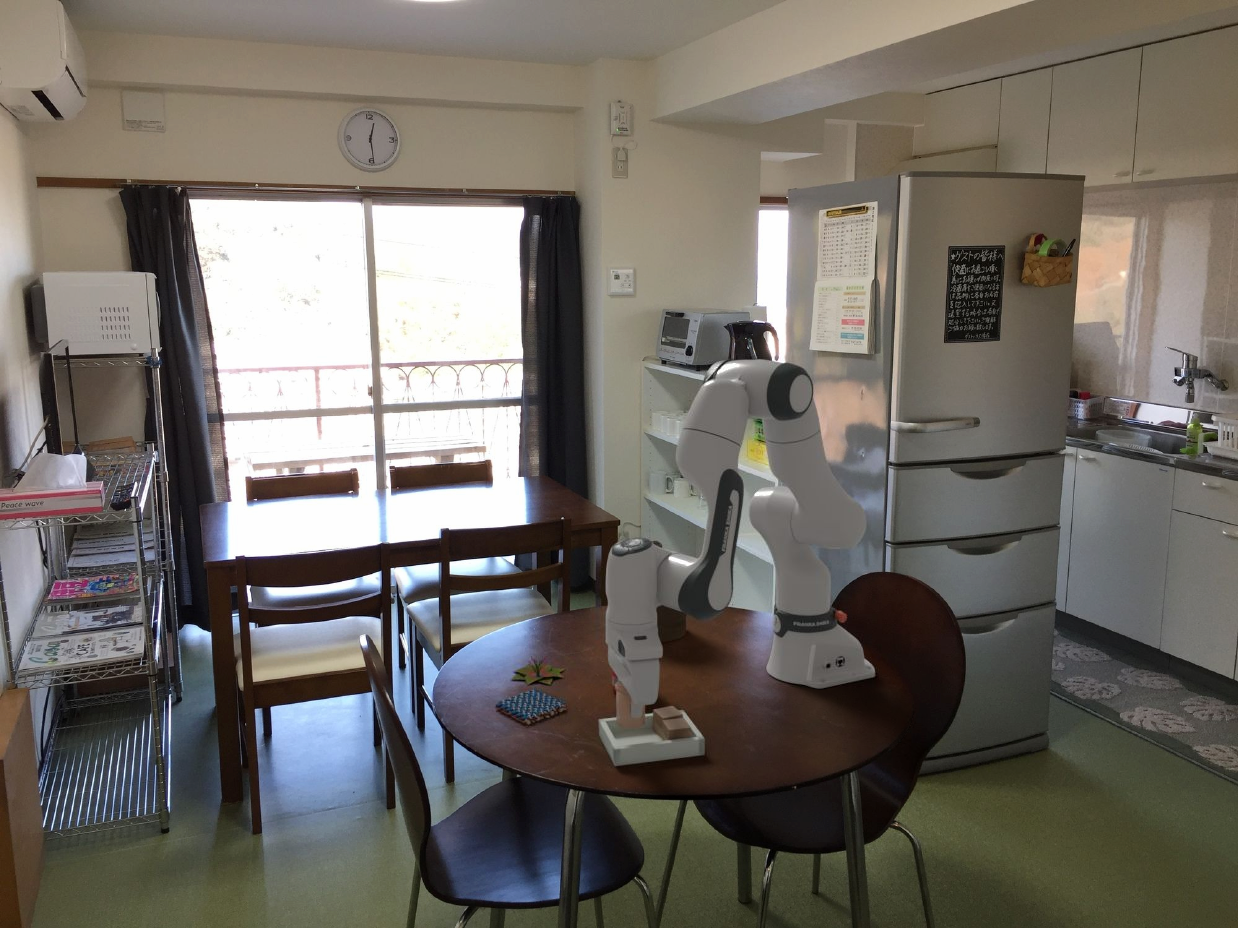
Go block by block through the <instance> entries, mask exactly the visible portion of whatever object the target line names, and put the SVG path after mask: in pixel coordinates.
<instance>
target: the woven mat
mask: <svg viewBox="0 0 1238 928" xmlns="http://www.w3.org/2000/svg"><path fill="white" fill-rule="evenodd" d="M494 707H495V709H496V710H497V711H498V712H502V713H503V714H506V715H507V716H509V717H512V718H513V719H516V720H517V721H519V722H521V723H523V724H525V725H530V724H532V723H535V722H536V721H537V722H539V721H540V720H543V719H545V718H546V719H548V718H551V716H554V715H555V714H558V712H559V713H562V712H564V711H566V710H567V707H568V704H566V703H565V702H563V700H558V698H557V697H556V698H555V697H553V696H552V695H548V694H547V693H546V692H545V693H544V692H542V690H538V689H537V688H534V689H530V690H528V691H526V692H521V693H519V694H517V695H515V696H511V697H508V698H505V699H502V700H499V701H498V702H497V703H496V704H495V705H494ZM544 717H545V718H544Z"/></svg>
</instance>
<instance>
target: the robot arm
mask: <svg viewBox="0 0 1238 928" xmlns="http://www.w3.org/2000/svg"><path fill="white" fill-rule="evenodd" d="M750 419H751V420H757V419H759V420H761V422H762V430H763V437H764V442H765V447H766V454H767V459H768V466H769V469H770V471H771V473H772V475H773V476H774V477H775V478H776V480H778V481H779V482H781V483H783V485H778V486H776V485H775V486H765V487H762V488H760V489H758V490H757V491H756V492H755V493H754V495H753V496H752V498H751V500H750V502H749V506H748V517H749V521H750V524H751V525H752V527H753V529H754V530H756V532H757V533H759V535H760V536H761V538H762V539H763V541H764V542H765V544H766V546H767V547H768V550H769V553H770V555H771V557H772V561H773V564H774V569H775V587H776V589H775V590H776V591H775V593H776V597H775V598H776V599H775V600H776V601H775V602H776V603H775V604H774V606H773V617H772V628H773V639H772V646H771V650H770V651H771V652H770V656H769V660H768V662H767V665H766V667H765V668H766V672H767V673H768V674H769V675H770V676H772V677H773V678H775V679H777V680H780V681H783V682H786V683H790V684H796V685H804V686H807V687H810V688H814V689H824V688H830V687H834V686H839V685H843V684H847V683H853V682H858V681H862V680H866V679H867V680H868V679H871V678H874V677H876V671H875V667H874V665H873V664H872V663H870V662H871V661H868V660H867V659H866V658H865V655H864V649H863V646H862V644H861V643H860V641H859V640H858V639H857V638H856V637H855V636H854V635H852V634H851V633H850V632H848V631H847V630H846V629H845V628H843V627H842V626H841V625H839V624H838V622H840V623H842V624H843V623H845V622H846V621H847V619H848V617H847V616H848V615H847V614H846V613H845V612H843V611H842V610H837V609H836V608H835V607H833V606H831V586H832V584H831V583H832V582H831V581H832V575H831V572H830V570H829V568H828V566H827V565H826V564H825V563H823V561H822V560H820V558H818V556H817V555H816V554H815V551H814V550H813V548H812V546H814V547H819V548H823V549H829V550H830V549H831V550H832V549H833V550H837V549H838V550H841V549H844V550H845V549H852V548H854V547H856V545H858V544H859V543H860V541H861V540H862V539H863V537H864V536H865V533H866V531H867V515H866V512H865V510H864V508H863V506H862V505H861V504H860V502H858V501H857V500H855V499H854V498H853V497H852V496H851V495H849V494H848V493H847V492H846V491H845V489H844V487H842V485H841V484H840V483H839V481H838V480H837V478H836V477H835V475H834V474H833V472H832V470H831V468H830V466H829V463H828V460H827V457H826V452H825V447H824V442H823V437H822V436H823V435H822V431H821V424H820V418H819V414H818V409H817V406H816V402H815V400H814V384H813V380H812V379H811V376H810V375H809V373H808V372H807V370H806V369H805V368H803V367H802V366H800V365H798V364H795V363H791V362H779V361H774V360H768V359H760V358H759V359H734V358H729V359H727V358H726V359H723V360H718V361H716V362H715V363H713V364H712V365H711V366H710V368H709V369H708V370H707V372H706V373H705V375H704V378H703V380H702V385H701V387H700V388H699V390H698V392H697V394H696V395H695V397H694V399H693V401H692V403H691V406H690V407H689V409H688V413H687V415H686V418H685V420H684V423H683V426H682V429H681V432H680V434H679V435H680V436H679V438H678V440H677V441H678V442H677V445H676V449H675V450H676V451H675V462H676V463H675V464H676V466H677V469H678V470H679V473H680V474H681V475H682V477H683V478H684V479H685V480H686V482H688V483H689V484H690V486H692V487H693V488H695V489H696V490H697V491H698V492H699V493H700V494H701V496H703V498H704V500H705V501H706V505H707V511H708V514H707V520H706V525H705V526H706V527H705V531H704V537H703V538H704V539H703V543H702V544H703V545H702V551H701V554H700V556H699V557H698V558H697V557H695V556H691V555H687V554H684V553H682V552H678V551H675V550H671V549H667V548H663V547H662V548H661V547H658V546H656V545H654V544H653V542H652V540H651V539H648V538H645V537H631V538H630V537H628V538H624V539H621V540H619V541H617V542H616V543H614V544H613V545H612V546H611V548H610V551H609V553H608V557H607V563H606V568H605V569H606V571H605V573H606V574H605V594H606V598H607V608H606V611H605V643H606V645H607V659H608V664H609V667H611V670H612V669H613V671H614V672H615V674H616V675H617V677H618V681H621V683H622V684H623V686H624V687H625V689H626V690H627V692H628V693H629V695H630V697H631V699H632V701H631V705H630V714H631V716H632V717H633V718H638V717H641V716H642V707H643V705H645V706H648V705H653V704H655V703H656V702H657V700H658V697H659V696H658V695H659V687H660V671H661V670H660V660H659V659H660V658H663V654H664V653H663V652H664V650H663V645H662V642H660V639H659V636H658V628H657V612H656V608H657V607H658V606H660V605H664V606H666V607H669V608H672V609H675V610H678V611H681V612H683V613H685V614H686V616H689V617H691V618H692V619H695V620H697V621H700V622H707V621H710V620H714V619H715V618H716V617H718V616H719V615H721V614H722V613H723V612H724V611H726V609H727V608H728V606H729V605H730V603H731V602H732V597H733V594H734V593H733V592H734V564H735V557H736V551H737V544H738V540H739V533H740V532H739V530H740V527H741V526H740V525H741V518H742V512H743V504H744V498H745V497H744V496H745V492H744V491H745V485H744V480H743V478H742V477H741V475H740V473H739V456H740V452H741V448H742V445H743V442H744V436H745V434H746V429H747V423H748V420H750ZM784 485H785V486H784Z"/></svg>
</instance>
